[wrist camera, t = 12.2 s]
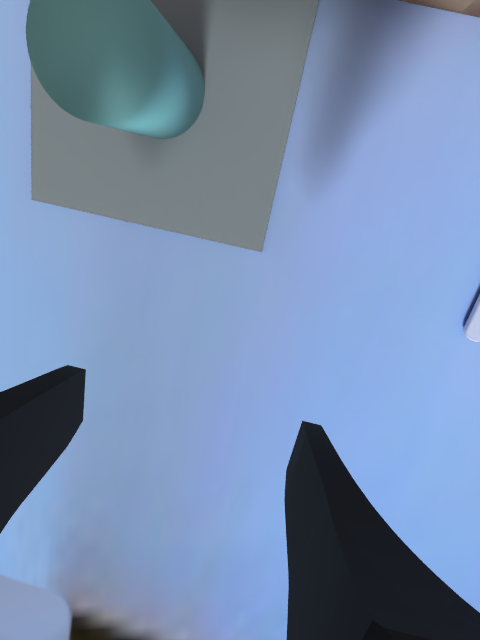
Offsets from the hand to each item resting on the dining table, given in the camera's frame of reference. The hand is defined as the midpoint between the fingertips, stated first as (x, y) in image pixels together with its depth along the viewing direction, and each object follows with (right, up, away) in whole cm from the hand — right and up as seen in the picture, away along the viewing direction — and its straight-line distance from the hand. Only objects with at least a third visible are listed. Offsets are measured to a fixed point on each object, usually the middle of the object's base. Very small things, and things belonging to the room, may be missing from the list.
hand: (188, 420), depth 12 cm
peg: (-2, +14, +5) cm, 14 cm away
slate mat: (-2, +14, +5) cm, 15 cm away
